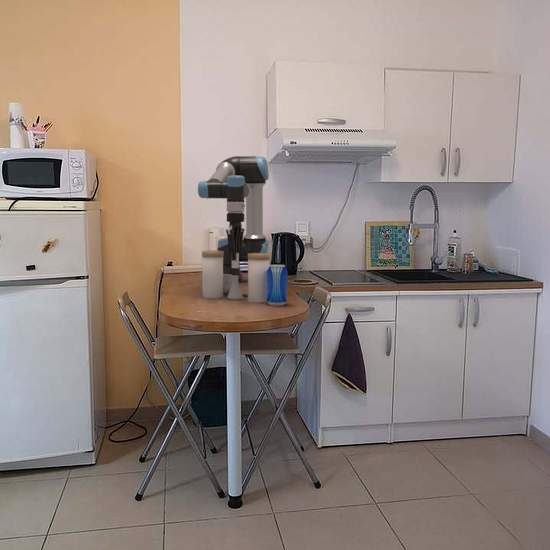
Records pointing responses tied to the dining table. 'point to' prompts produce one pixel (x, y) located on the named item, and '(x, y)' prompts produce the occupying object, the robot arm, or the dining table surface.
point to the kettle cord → (242, 294)
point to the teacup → (227, 282)
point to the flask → (235, 289)
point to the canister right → (257, 276)
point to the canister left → (212, 274)
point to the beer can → (276, 285)
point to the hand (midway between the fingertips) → (235, 267)
